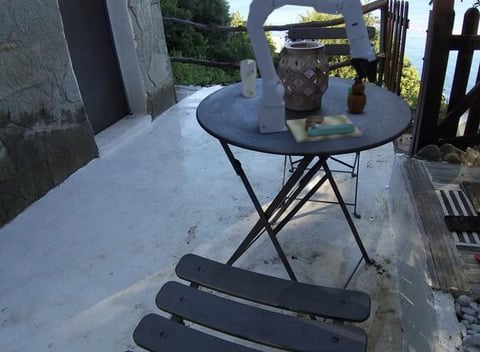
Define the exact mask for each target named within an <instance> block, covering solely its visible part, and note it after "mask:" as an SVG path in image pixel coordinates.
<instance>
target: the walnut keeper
mask: <svg viewBox="0 0 480 352" xmlns="http://www.w3.org/2000/svg"><path fill="white" fill-rule="evenodd" d="M324 117H325V116H320V115H308V116H307V117H306V118H305V119H306V120H305V130H307V131H308V128H309V127H311V124H312V122H315V123H316V124H322V122H323V121H324Z"/></svg>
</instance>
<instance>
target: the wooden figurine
mask: <svg viewBox="0 0 480 352" xmlns="http://www.w3.org/2000/svg"><path fill="white" fill-rule="evenodd" d="M354 80H355V81H354V82H353V84H352V85H351V86H350V87H351V91H352V92H353V93H351V94H350V95H349V96H348V95H347V100H346V106H347V110H348V111H349V112H350V113H351V114H359V113H362V112H363V111H364V109H365V107H366V106H367V94H366V93H365V90H366V84H365V83H364V82H363V79H361V80H360V79H359V77H358V75H357V73H355V78H354ZM363 92H364V93H363Z"/></svg>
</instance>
